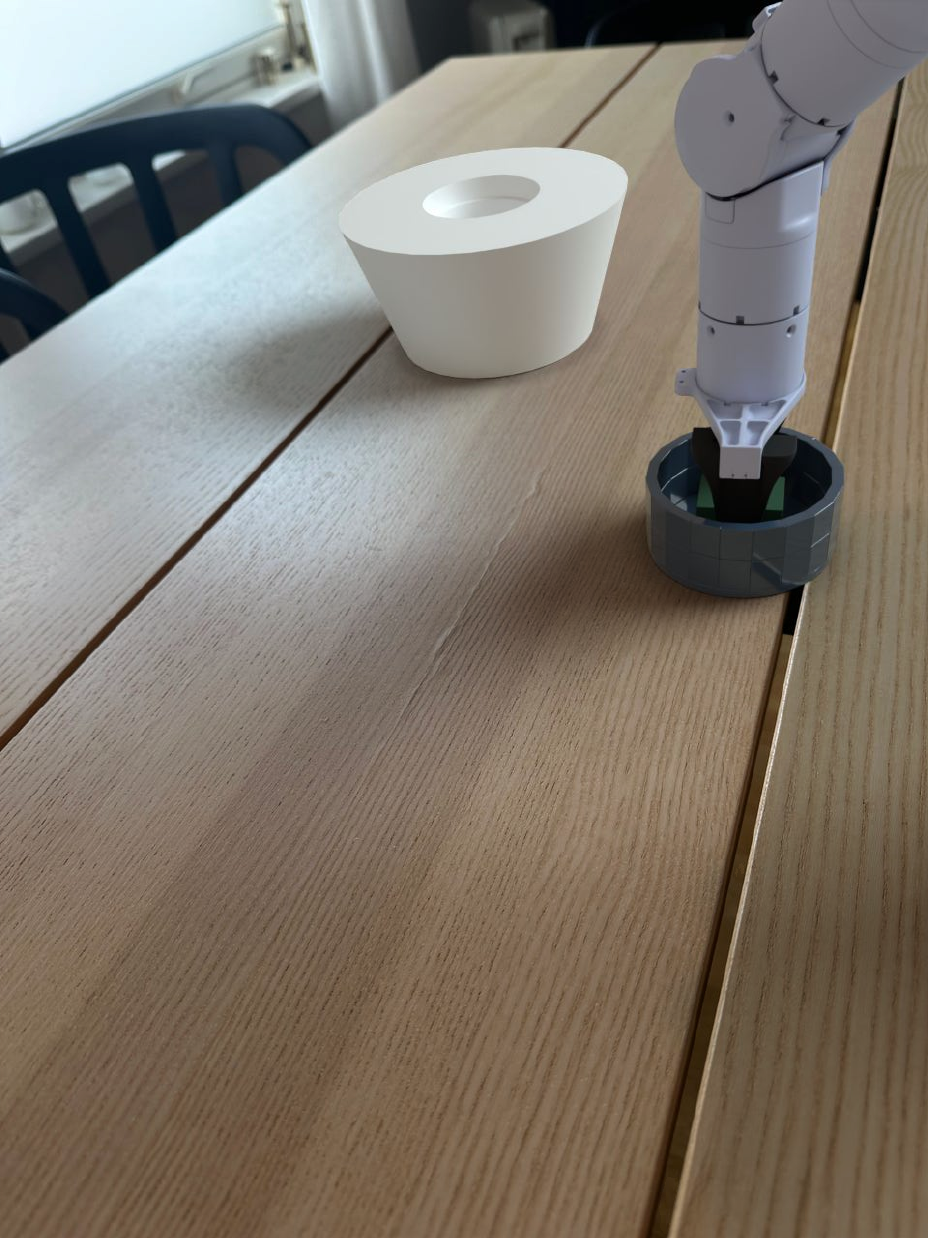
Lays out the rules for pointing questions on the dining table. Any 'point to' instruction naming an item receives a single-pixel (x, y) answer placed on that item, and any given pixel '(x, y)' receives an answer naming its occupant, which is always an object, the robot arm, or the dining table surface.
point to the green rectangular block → (771, 513)
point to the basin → (744, 525)
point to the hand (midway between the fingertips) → (740, 511)
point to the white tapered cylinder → (489, 255)
